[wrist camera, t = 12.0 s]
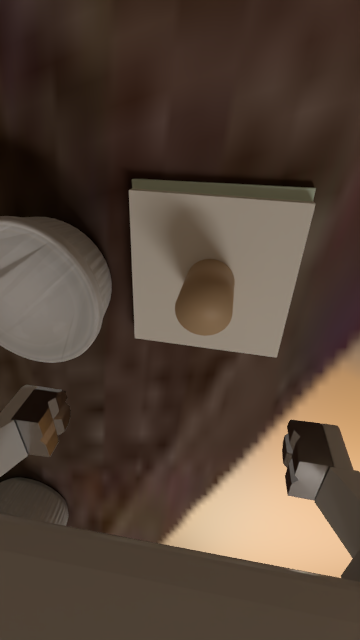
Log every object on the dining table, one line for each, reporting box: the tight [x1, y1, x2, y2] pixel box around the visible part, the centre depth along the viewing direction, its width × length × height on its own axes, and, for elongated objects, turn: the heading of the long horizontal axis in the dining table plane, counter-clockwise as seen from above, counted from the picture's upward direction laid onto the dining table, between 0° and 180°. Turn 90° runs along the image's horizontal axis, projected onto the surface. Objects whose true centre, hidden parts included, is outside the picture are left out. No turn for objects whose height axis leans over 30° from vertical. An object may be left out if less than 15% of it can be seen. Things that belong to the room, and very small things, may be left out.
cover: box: [129, 188, 315, 358], centre depth 22 cm, size 12×12×5 cm
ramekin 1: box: [0, 216, 112, 363], centre depth 24 cm, size 11×11×5 cm
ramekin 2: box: [0, 477, 68, 526], centre depth 45 cm, size 13×13×7 cm
